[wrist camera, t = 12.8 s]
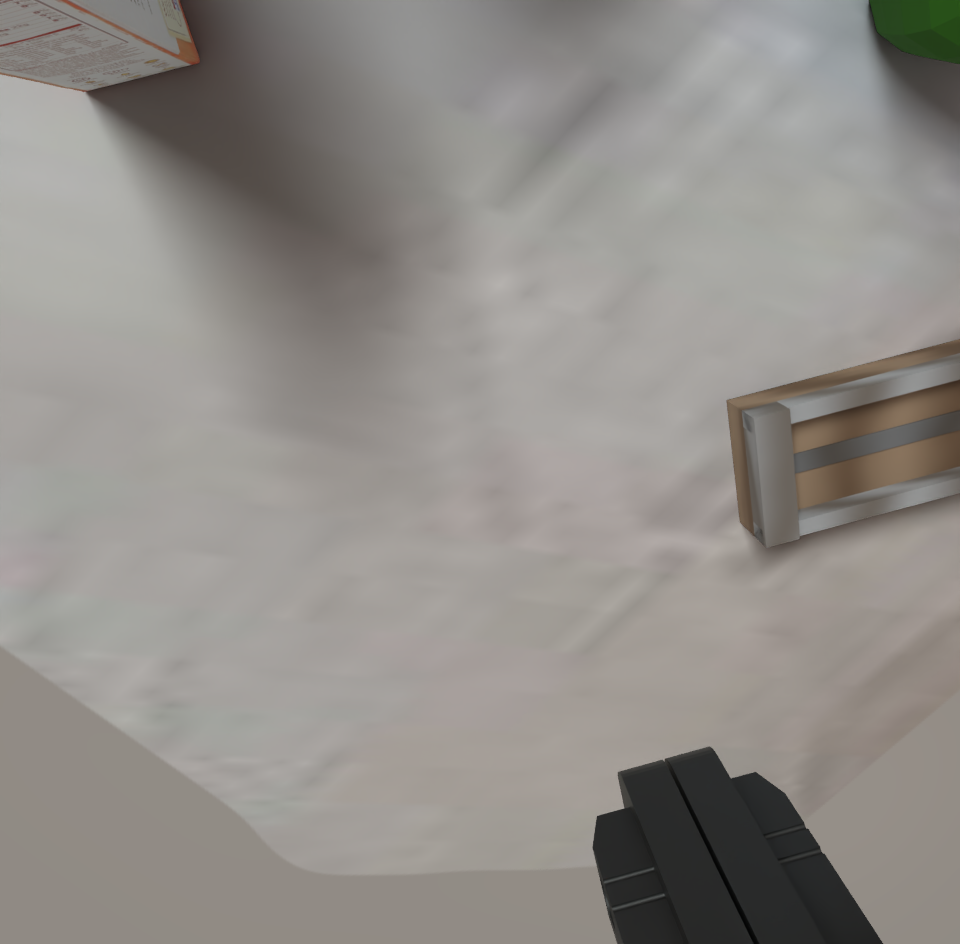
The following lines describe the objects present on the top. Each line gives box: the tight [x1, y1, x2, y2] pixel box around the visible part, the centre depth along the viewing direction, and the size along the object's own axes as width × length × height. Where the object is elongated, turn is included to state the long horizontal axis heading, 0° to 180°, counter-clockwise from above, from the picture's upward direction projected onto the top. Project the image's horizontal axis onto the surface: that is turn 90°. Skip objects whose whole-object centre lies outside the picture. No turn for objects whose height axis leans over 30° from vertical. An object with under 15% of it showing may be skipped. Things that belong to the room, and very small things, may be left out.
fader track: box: [727, 339, 960, 548], centre depth 45 cm, size 24×8×4 cm, turn 103°
